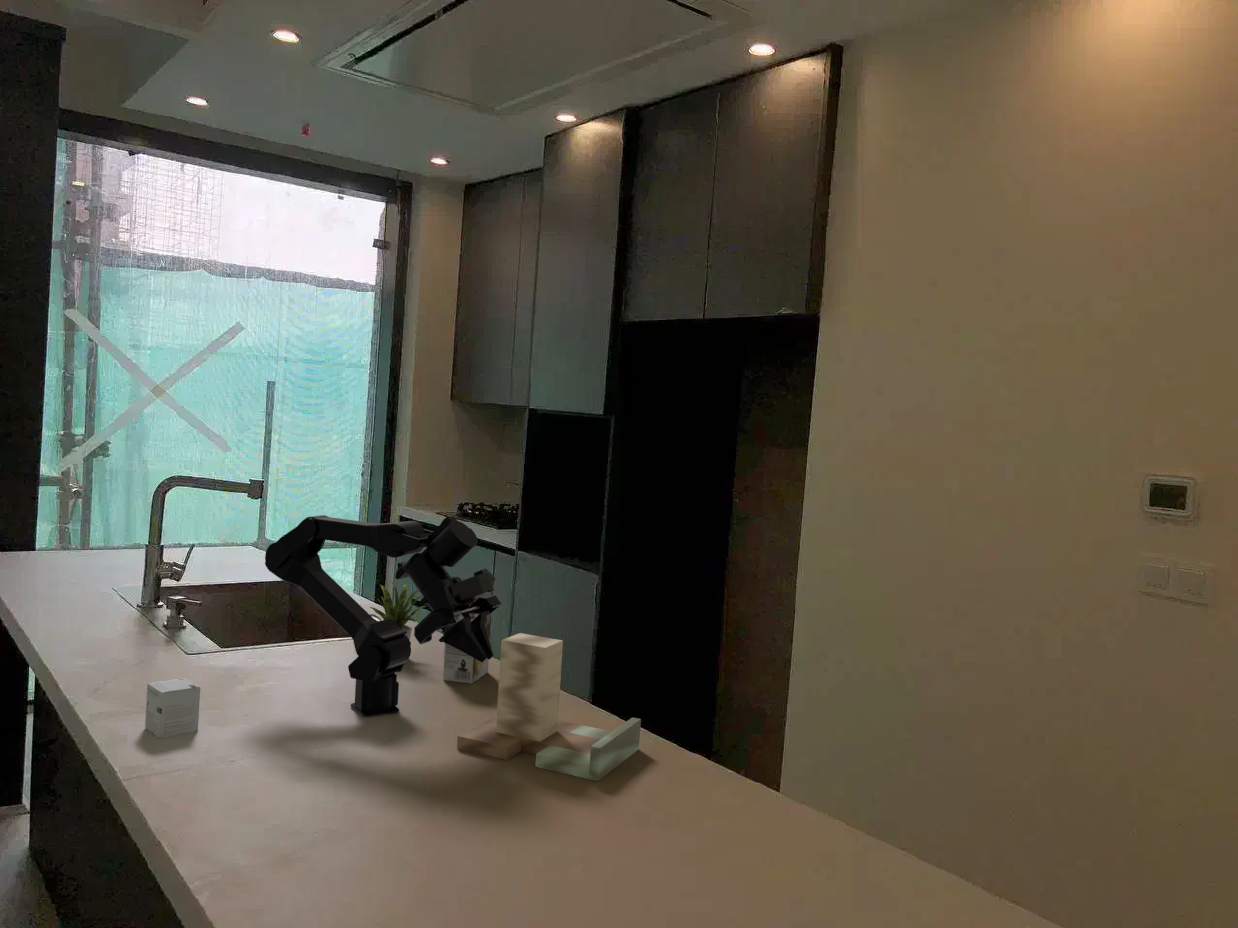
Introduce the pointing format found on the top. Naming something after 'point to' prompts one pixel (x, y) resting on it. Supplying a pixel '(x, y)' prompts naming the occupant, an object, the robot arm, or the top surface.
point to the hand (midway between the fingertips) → (487, 659)
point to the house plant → (398, 608)
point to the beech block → (529, 686)
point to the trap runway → (560, 747)
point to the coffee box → (464, 661)
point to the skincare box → (172, 707)
